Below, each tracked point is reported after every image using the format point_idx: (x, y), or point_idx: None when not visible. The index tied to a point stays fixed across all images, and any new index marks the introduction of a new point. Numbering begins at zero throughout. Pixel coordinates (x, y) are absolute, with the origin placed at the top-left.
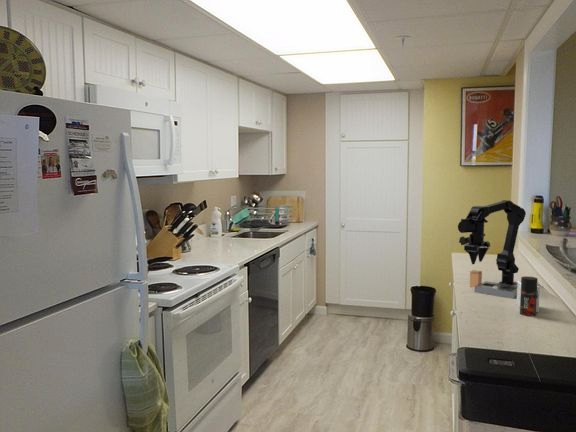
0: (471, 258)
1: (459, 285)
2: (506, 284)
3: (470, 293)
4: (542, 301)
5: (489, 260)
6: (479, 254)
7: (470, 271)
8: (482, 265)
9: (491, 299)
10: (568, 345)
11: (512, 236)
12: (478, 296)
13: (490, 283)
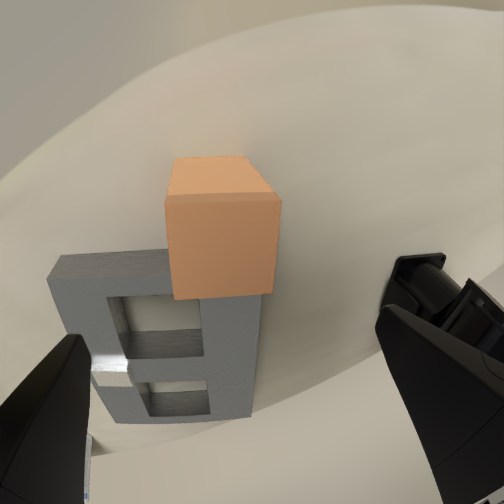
0: (13, 416)
1: (173, 72)
2: (250, 372)
3: (20, 252)
4: (168, 441)
5: None
6: (455, 384)
7: (165, 206)
8: None
9: (29, 356)
10: None
11: None
12: (13, 305)
13: (208, 316)
